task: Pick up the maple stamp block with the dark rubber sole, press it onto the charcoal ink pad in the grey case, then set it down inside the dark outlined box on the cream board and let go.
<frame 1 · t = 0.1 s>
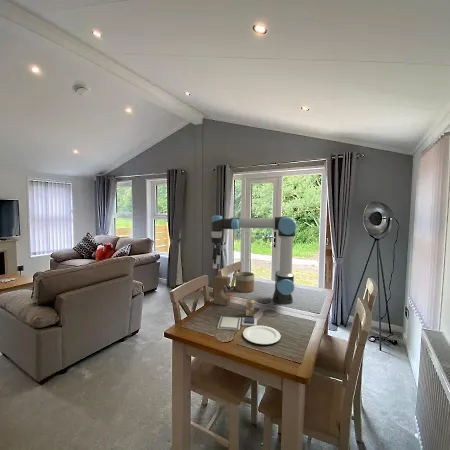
hand: (216, 266, 191), 28 cm above the table, fingers open, 13 cm apart
stamp: (249, 315, 172), on the table
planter: (244, 290, 225), on the table
decorative block: (221, 303, 193), on the table
plate: (261, 337, 146), on the table
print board: (229, 323, 161), on the table
ink pad: (249, 322, 162), on the table
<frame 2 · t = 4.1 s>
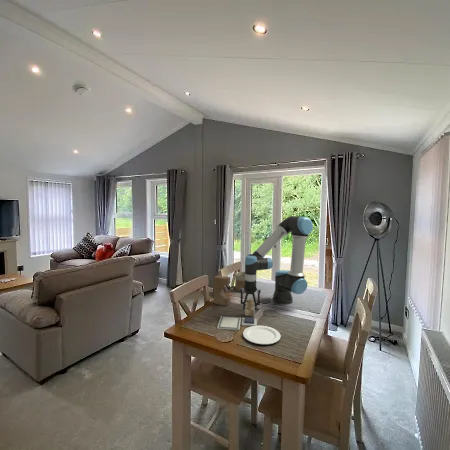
hand: (249, 314, 172), 1 cm above the table, fingers closed on stamp, 5 cm apart
stamp: (249, 315, 172), on the table, touching gripper
everything else where it was.
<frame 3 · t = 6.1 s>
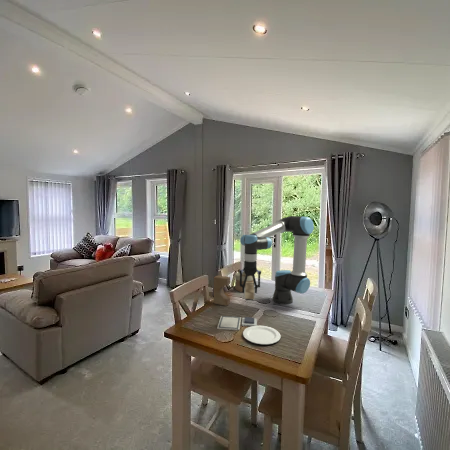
hand: (249, 297, 161), 16 cm above the table, fingers closed on stamp, 5 cm apart
stamp: (249, 299, 161), point 15 cm above the table, touching gripper
everything else where it was.
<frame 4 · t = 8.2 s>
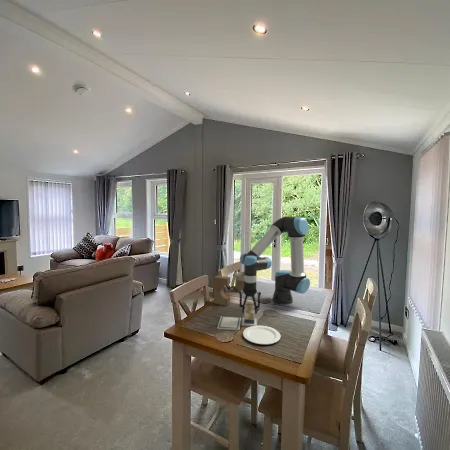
hand: (249, 318, 162), 3 cm above the table, fingers closed on stamp, 5 cm apart
stamp: (249, 319, 162), point 2 cm above the table, touching gripper, ink pad
everything else where it was.
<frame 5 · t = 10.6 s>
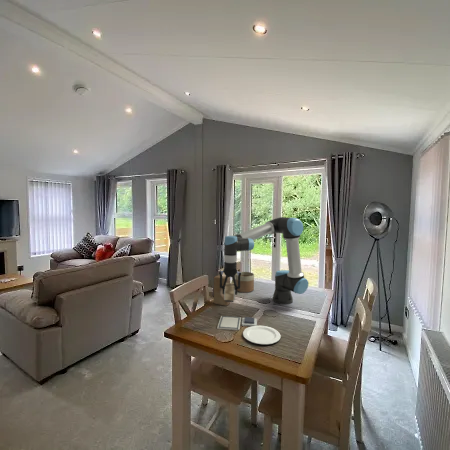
hand: (229, 299, 160), 15 cm above the table, fingers closed on stamp, 5 cm apart
stamp: (229, 300, 160), point 15 cm above the table, touching gripper
everything else where it was.
when the fingers open (3 cm above the table, at t = 12.5 s): stamp drops 1 cm, resting on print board.
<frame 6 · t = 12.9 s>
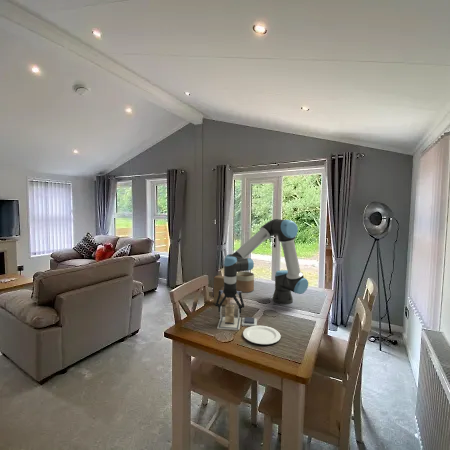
hand: (229, 317, 161), 4 cm above the table, fingers open, 10 cm apart
stamp: (229, 322, 161), point 1 cm above the table, touching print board
everything else where it was.
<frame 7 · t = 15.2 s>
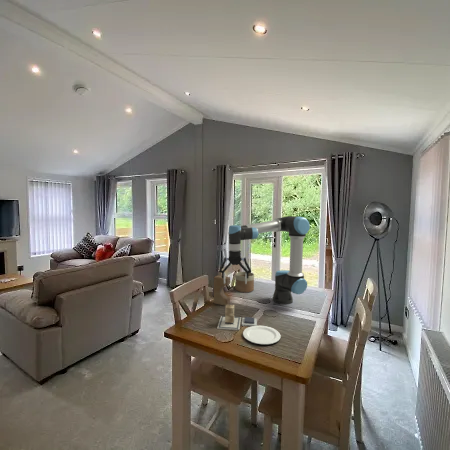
hand: (235, 283, 166), 23 cm above the table, fingers open, 13 cm apart
nothing on the table moved.
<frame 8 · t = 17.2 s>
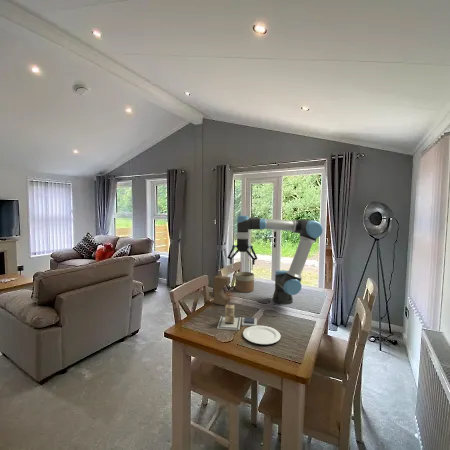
hand: (242, 269, 180), 29 cm above the table, fingers open, 13 cm apart
nothing on the table moved.
at the end: stamp inside the target area on the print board (0.0 cm from its centre), point 0.8 cm above the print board's base; stamp tilted 0°; the gripper is holding nothing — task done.
